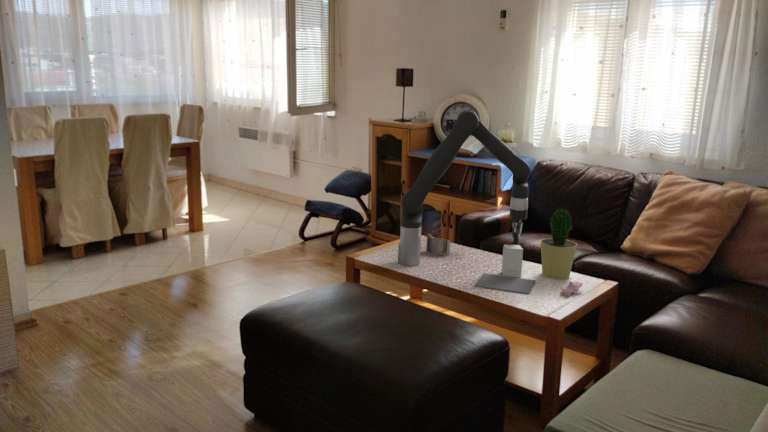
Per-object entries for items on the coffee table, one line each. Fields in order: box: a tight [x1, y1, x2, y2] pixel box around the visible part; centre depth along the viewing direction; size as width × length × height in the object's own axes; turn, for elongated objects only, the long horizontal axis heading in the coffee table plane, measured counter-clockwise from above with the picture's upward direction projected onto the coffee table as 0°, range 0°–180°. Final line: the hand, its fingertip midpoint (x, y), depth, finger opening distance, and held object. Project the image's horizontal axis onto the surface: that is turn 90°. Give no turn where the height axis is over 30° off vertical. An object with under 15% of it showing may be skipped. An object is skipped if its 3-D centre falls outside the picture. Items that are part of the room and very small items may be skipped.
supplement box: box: [501, 244, 524, 278], centre depth 272 cm, size 7×7×13 cm
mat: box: [473, 272, 536, 295], centre depth 260 cm, size 22×18×1 cm
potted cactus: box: [539, 208, 578, 281], centre depth 271 cm, size 15×15×30 cm
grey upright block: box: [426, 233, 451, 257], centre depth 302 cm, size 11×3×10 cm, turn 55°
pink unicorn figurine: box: [559, 280, 584, 298], centre depth 251 cm, size 6×6×15 cm
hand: (515, 246), depth 278 cm, fingers closed
